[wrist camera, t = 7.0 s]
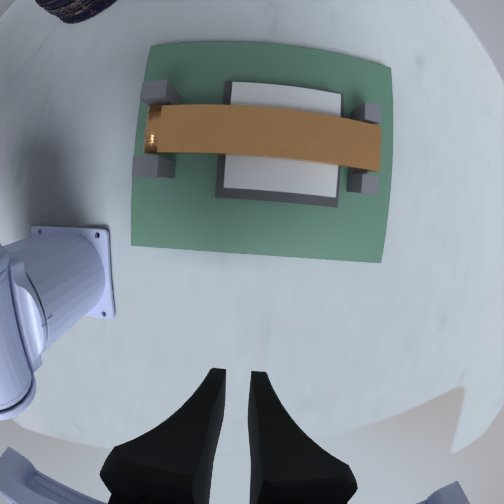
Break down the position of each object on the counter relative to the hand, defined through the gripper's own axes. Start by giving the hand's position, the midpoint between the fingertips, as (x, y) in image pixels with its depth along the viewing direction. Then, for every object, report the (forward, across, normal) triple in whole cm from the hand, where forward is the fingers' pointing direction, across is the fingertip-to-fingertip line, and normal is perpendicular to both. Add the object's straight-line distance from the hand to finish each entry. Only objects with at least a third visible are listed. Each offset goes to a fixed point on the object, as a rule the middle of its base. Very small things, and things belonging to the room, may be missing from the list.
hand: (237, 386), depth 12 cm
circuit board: (+10, -1, -12) cm, 16 cm away
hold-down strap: (+8, 0, -12) cm, 14 cm away
